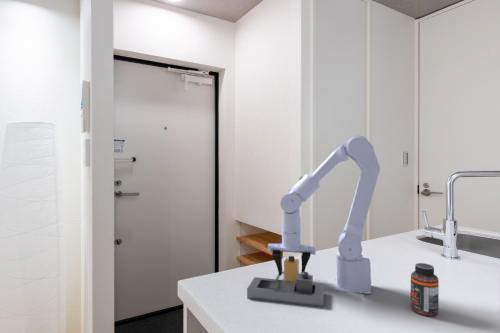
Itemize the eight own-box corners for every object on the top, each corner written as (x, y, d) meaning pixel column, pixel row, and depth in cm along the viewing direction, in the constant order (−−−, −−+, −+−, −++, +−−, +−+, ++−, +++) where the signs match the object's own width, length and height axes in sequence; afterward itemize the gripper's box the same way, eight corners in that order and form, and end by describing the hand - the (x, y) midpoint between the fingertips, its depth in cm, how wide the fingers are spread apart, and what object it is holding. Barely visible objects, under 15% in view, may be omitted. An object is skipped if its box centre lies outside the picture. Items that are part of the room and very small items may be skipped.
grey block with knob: (312, 297, 82) (312, 270, 82) (311, 303, 78) (311, 276, 78) (298, 295, 83) (298, 269, 83) (296, 302, 79) (296, 275, 79)
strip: (324, 294, 83) (324, 284, 83) (323, 308, 75) (323, 296, 75) (254, 287, 88) (254, 277, 88) (247, 299, 81) (247, 288, 81)
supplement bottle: (405, 305, 77) (405, 261, 76) (427, 304, 77) (427, 260, 77) (420, 318, 71) (420, 270, 70) (444, 316, 71) (444, 269, 71)
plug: (298, 278, 94) (298, 255, 94) (297, 283, 90) (297, 259, 90) (286, 276, 95) (285, 254, 95) (284, 281, 91) (284, 258, 91)
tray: (310, 276, 96) (310, 273, 96) (307, 290, 86) (307, 286, 86) (277, 273, 99) (277, 270, 99) (271, 286, 89) (271, 283, 89)
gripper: (316, 229, 94) (316, 272, 94) (270, 227, 98) (271, 268, 98) (314, 235, 87) (315, 281, 88) (266, 232, 91) (266, 276, 91)
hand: (291, 275), depth 92 cm, fingers open, 6 cm apart
